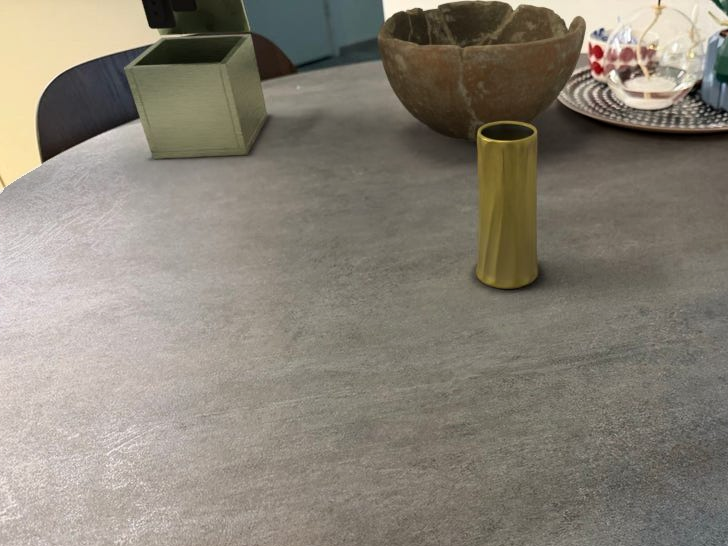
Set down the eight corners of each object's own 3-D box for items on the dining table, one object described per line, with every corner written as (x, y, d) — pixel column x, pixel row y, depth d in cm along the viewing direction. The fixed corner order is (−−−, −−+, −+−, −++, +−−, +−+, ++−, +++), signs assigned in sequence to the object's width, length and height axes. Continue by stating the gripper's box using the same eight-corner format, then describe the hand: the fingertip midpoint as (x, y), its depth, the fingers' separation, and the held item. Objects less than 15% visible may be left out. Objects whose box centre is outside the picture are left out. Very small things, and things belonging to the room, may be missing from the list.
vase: (480, 257, 72) (477, 118, 63) (540, 259, 71) (545, 119, 62) (472, 288, 67) (466, 142, 58) (535, 291, 66) (540, 144, 58)
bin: (247, 154, 96) (226, 63, 89) (152, 159, 95) (123, 68, 88) (268, 116, 108) (250, 34, 101) (184, 120, 108) (161, 37, 101)
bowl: (511, 91, 115) (511, -10, 106) (617, 140, 97) (628, 23, 88) (356, 124, 104) (342, 14, 95) (442, 186, 86) (435, 57, 77)
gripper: (124, -148, 86) (165, 6, 96) (66, -142, 72) (121, 36, 82) (186, -149, 86) (220, 4, 96) (140, -144, 72) (186, 34, 83)
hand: (174, 19), depth 89 cm, fingers open, 9 cm apart
